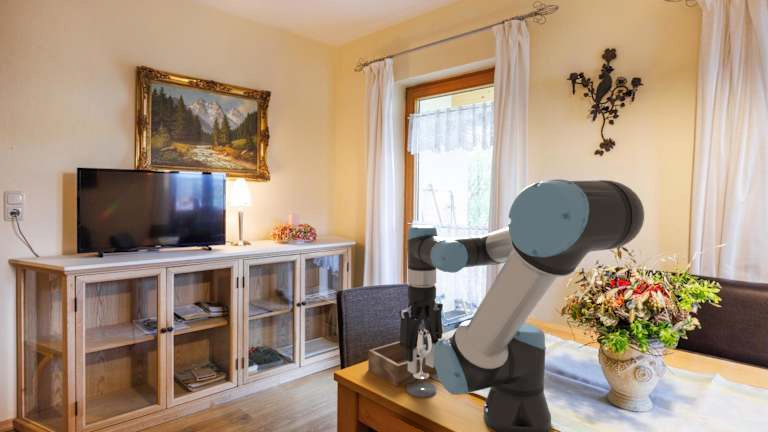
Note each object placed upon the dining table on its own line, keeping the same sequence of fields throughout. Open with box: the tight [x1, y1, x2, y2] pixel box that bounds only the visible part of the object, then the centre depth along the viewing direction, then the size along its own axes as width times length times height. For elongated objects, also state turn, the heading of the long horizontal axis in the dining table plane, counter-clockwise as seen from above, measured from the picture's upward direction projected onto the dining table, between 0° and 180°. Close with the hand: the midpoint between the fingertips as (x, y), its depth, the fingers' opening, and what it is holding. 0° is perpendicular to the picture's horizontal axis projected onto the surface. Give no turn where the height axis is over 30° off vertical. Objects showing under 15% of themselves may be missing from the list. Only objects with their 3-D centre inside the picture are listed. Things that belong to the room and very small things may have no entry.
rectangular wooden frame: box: [367, 340, 437, 388], centre depth 130 cm, size 14×22×6 cm, turn 127°
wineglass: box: [413, 328, 432, 380], centre depth 116 cm, size 6×6×12 cm
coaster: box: [405, 380, 437, 398], centre depth 117 cm, size 8×8×1 cm
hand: (421, 368), depth 116 cm, fingers closed on wineglass, 6 cm apart
